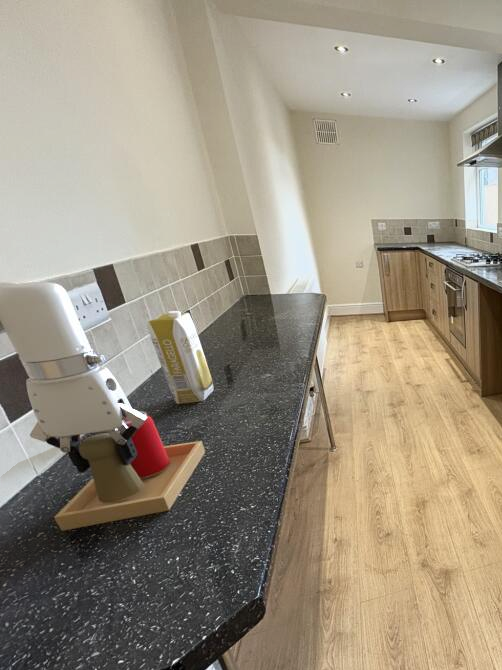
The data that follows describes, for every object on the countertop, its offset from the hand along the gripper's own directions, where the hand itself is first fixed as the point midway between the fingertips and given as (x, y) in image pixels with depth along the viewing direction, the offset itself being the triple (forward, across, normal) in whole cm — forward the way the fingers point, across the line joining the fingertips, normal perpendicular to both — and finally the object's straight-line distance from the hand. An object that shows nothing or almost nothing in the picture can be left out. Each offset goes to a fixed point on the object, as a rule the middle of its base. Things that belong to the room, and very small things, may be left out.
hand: (108, 463), depth 70 cm
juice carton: (+8, +3, -47) cm, 48 cm away
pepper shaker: (+6, 0, 0) cm, 6 cm away
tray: (+8, -1, -4) cm, 9 cm away
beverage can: (+7, -1, -8) cm, 11 cm away
